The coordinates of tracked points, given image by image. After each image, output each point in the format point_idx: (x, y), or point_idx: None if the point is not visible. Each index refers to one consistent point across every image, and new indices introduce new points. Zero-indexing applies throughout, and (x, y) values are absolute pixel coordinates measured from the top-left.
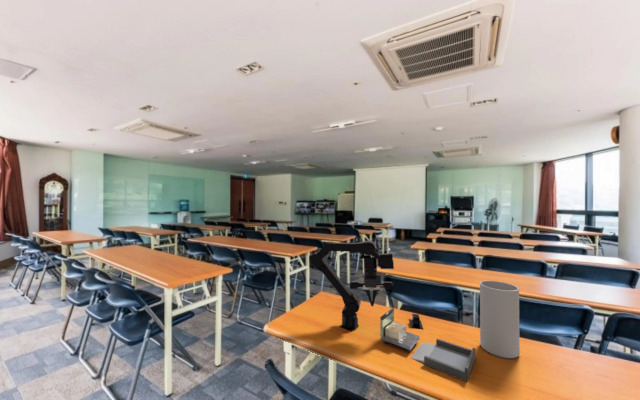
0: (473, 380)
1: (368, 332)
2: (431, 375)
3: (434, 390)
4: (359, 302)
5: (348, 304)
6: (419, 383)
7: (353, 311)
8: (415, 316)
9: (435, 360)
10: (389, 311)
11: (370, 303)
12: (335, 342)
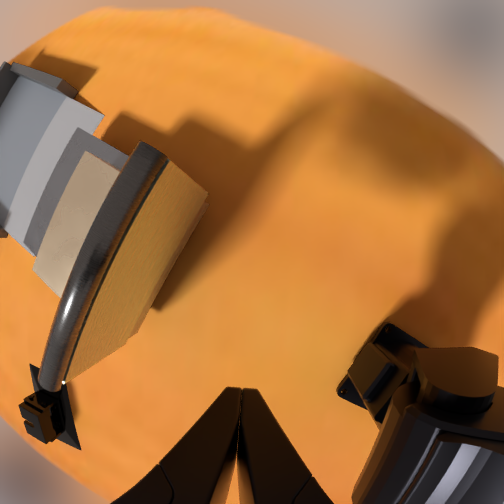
0: None
1: (282, 328)
2: (84, 52)
3: (109, 8)
4: (388, 478)
5: (497, 398)
6: (133, 11)
7: (437, 365)
8: (31, 419)
9: (42, 75)
10: (57, 316)
11: (271, 412)
12: (452, 189)
